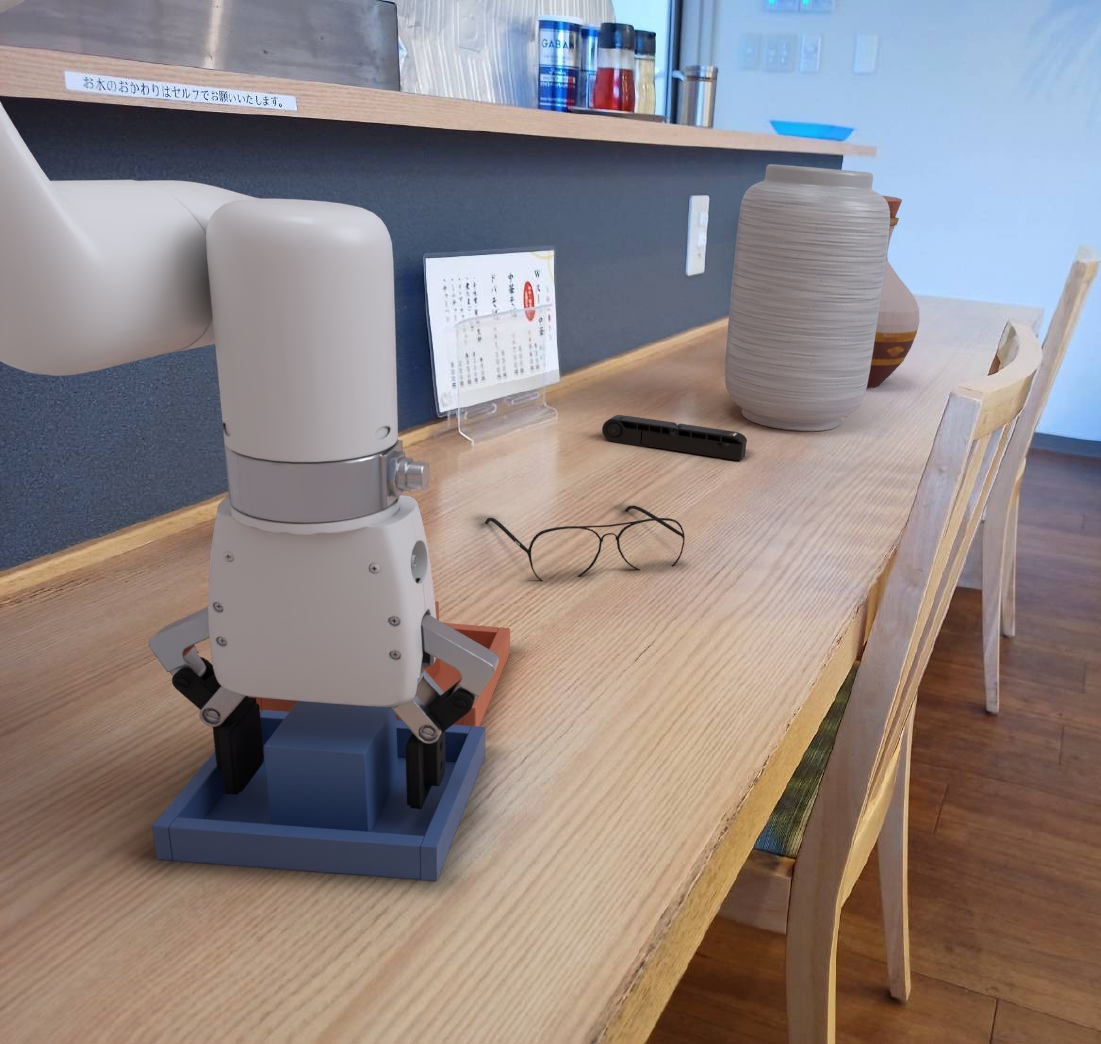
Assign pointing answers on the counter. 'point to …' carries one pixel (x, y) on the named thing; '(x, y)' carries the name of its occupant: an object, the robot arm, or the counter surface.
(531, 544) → the glasses
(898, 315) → the jug
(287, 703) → the terracotta tray
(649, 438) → the tablet stand
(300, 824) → the blue block
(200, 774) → the blue tray
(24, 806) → the counter surface
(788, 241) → the vase
